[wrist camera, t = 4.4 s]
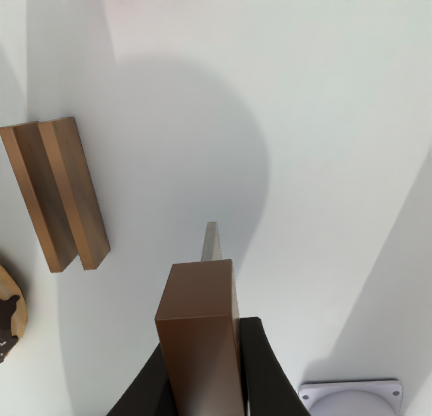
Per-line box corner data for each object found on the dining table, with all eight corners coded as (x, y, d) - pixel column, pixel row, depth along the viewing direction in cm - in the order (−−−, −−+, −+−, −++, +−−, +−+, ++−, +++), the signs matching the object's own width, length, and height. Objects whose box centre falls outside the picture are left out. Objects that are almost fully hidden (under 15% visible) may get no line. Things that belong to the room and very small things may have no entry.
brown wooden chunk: (247, 339, 15) (256, 499, 9) (211, 341, 16) (198, 500, 10) (232, 208, 13) (232, 313, 7) (189, 212, 13) (153, 319, 7)
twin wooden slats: (110, 250, 22) (96, 269, 19) (69, 253, 22) (50, 273, 20) (73, 116, 18) (51, 121, 16) (26, 122, 19) (-3, 127, 16)
